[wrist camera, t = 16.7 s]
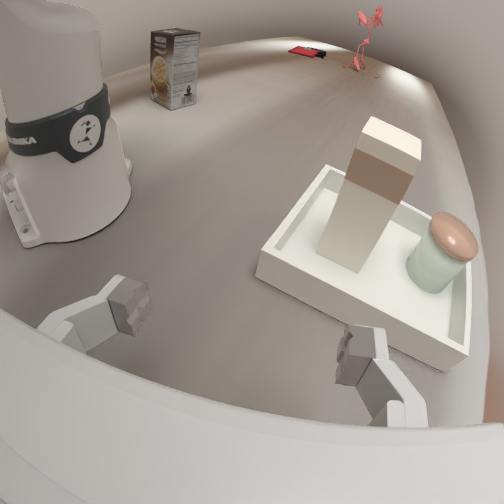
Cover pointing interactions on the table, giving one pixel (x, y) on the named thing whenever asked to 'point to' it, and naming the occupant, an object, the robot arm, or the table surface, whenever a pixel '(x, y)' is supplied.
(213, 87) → the table surface
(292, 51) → the red board with handle
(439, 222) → the lidded jar
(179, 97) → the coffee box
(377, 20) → the figurine
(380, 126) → the juice carton
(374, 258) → the tray
